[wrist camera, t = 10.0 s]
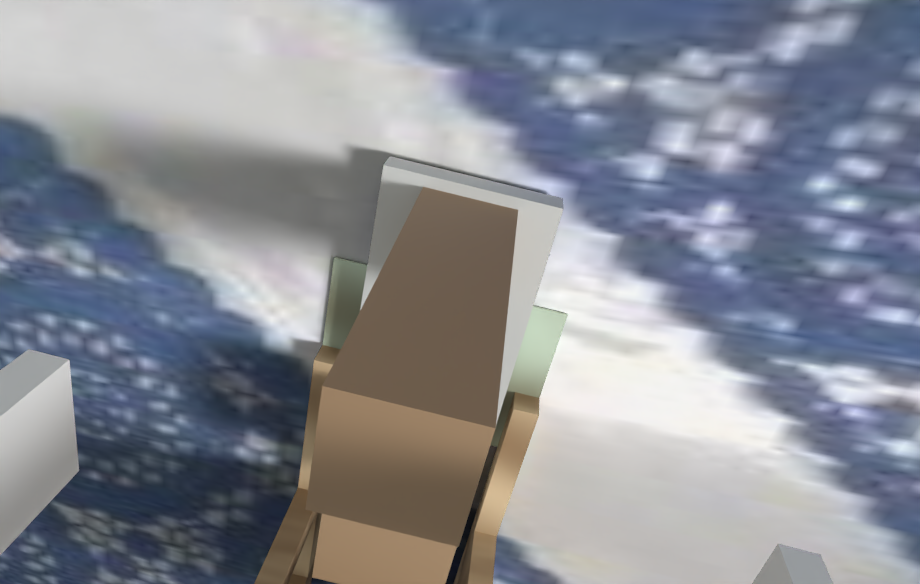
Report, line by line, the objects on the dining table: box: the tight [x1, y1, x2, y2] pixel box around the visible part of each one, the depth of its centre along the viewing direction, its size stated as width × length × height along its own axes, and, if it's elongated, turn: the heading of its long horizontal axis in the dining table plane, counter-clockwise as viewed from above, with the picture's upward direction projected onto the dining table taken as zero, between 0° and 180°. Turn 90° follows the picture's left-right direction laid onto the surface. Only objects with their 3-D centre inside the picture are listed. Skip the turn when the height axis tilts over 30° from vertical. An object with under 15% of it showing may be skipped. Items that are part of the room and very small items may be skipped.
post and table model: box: [305, 156, 563, 584], centre depth 20 cm, size 15×6×12 cm, turn 168°
